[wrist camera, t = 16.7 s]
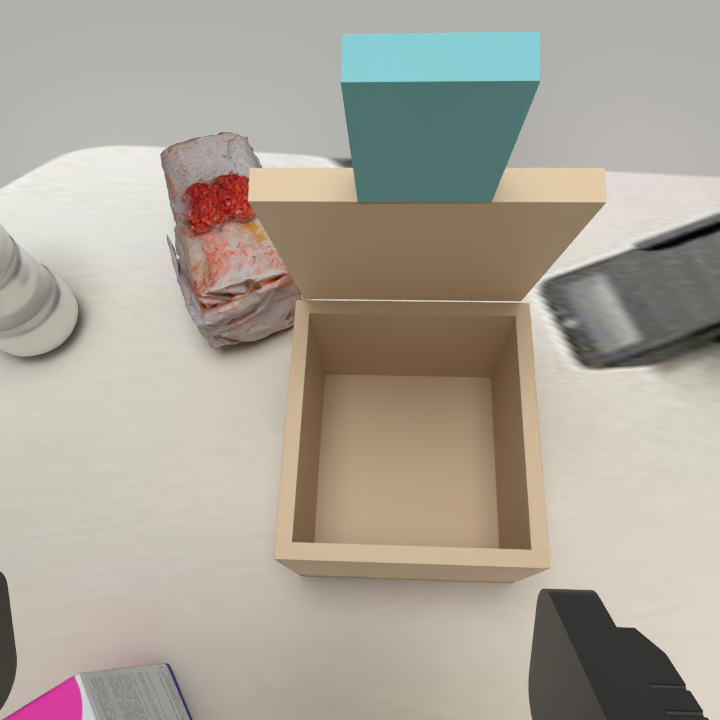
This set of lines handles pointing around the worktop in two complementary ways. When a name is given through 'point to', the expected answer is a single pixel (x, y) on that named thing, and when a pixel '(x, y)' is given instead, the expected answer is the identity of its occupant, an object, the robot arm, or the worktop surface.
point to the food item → (224, 243)
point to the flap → (428, 178)
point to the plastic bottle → (32, 303)
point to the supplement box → (111, 697)
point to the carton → (412, 443)
